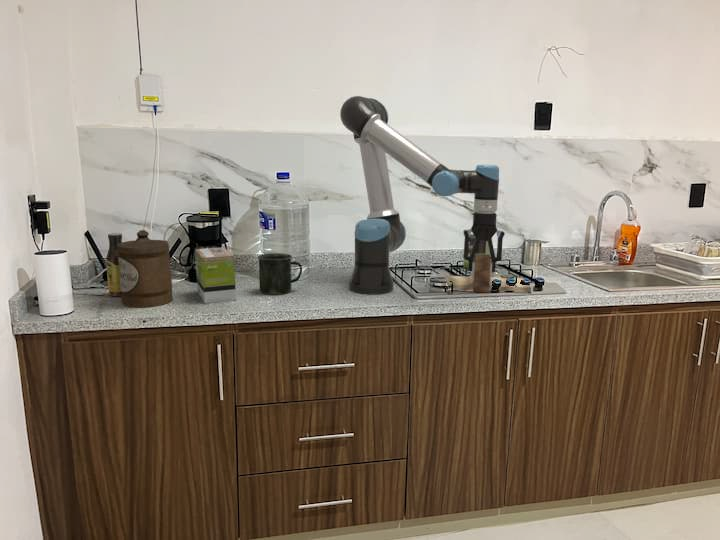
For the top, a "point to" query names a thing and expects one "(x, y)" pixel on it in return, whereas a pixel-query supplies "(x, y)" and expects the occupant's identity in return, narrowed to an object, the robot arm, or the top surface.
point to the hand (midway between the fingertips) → (480, 280)
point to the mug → (276, 273)
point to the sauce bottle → (113, 264)
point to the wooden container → (145, 272)
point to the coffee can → (481, 249)
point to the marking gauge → (481, 273)
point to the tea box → (215, 274)
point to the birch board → (467, 284)
